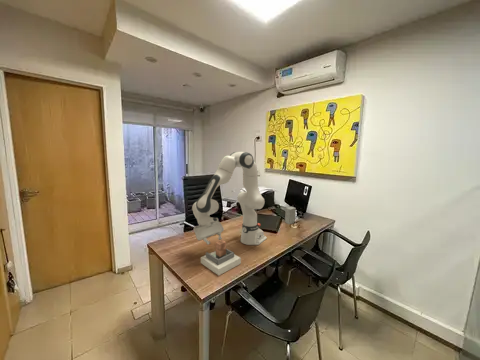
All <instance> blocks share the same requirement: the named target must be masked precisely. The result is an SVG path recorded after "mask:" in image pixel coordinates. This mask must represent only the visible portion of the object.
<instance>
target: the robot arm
mask: <svg viewBox="0 0 480 360" xmlns="http://www.w3.org/2000/svg"><path fill="white" fill-rule="evenodd" d="M237 167H238V168H241V169H242V185H243V186H242V187H243V188H244V189H245V191H241V192H239V193H238V194H237V198H236V199H237V201H238V203H239V205H240V208H241V212H242V226H241V227H242V228H241V236H240V243H242V244H244V245H247V246H260V245H261V244H262V243H263V242H265V241H266V240H267V238H268V237H267V236H265V234H264V231H263V230H262V229H261V228H259V227H261V223H259V222H258V214H257V212H256V210H261V209H263V207H264V206H265V202H266V201H265V198H264V197H263V196H262V194H261V192H260V189H259V182H258V181H259V180H258V165H257V163H256V162H255V160H254V156H253V155H252V153H250V152H247V151H234V152H232V153H231V154H229V155H225V156H224V157H223V158H222V159H221V161H220V163H219V164H218V167H217V170H215V173H214V174H213V175H212V177H211V178H210V179H209V181H208V183H207V185H206V187H205V188H204V190H203V192H202V194H201V195H200V197H198V199H197V200H196V201H195V202H194V203H193V204H192V207H191V210H192V213H193V215H194V217H195V219H196V221H197V224H198V225H197V226H194V227H193V232H194V234H195V237H196V240H197V241H202V240H203V242H205V244H206V245H208V246H209V245H211V241H210V240H209V239H208V238H211V237H213V236H216V235H217V236H218V237H217V239H218V241H221V240H222V239H223V237H222V233H223V232H224V230H225V229H224V226H223V225H222V223H221V222H220V221H219V218H218V217H211V216H210V215H213V214H215V213H217V212H218V210H219V208H220V205H219V202H218V200H216V199H213V198H212V197H213V196H214V194H215V192H216V190H217V188H218V187H220V186H222V185H225V184H228V183H229V182H230V180H231V179H232V176H233V173H234V171H235V169H236V168H237Z"/></svg>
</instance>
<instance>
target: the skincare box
mask: <svg viewBox="0 0 480 360" xmlns="http://www.w3.org/2000/svg"><path fill="white" fill-rule="evenodd" d="M296 211H297V208H296V207H294V206H287V207H285V210H284V212H285V213H284V214H285V216H284V223H286V224H287V225H290V224H292V225H293V224H295V223H294V222H296Z"/></svg>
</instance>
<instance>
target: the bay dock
mask: <svg viewBox="0 0 480 360" xmlns="http://www.w3.org/2000/svg"><path fill="white" fill-rule="evenodd" d="M241 261H242V258H241V256H238V255H236V254H235V252H234V251H232V250H230V249H228V248H226V256H224V257H222V258H220V259H218V258H216V250H214V251H213V252H208V251H206V252H205V255H203V256H201V257H200V264H201V265H203V266H204V267H206V268H207V269H209V270H210V271H211V272H213V273H214V274H216V275H217V276H220V275H223V274H224V273H227V272H229V271H230V270H232V269H234V268H236V267H237V266H240V265H241V263H242V262H241Z"/></svg>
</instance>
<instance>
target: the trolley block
mask: <svg viewBox="0 0 480 360" xmlns="http://www.w3.org/2000/svg"><path fill="white" fill-rule="evenodd" d="M226 249H227V242H226V241H224V240H222V239H221V240H218V241H216V242H215V251H216V258H218V259H220V258H222V257H224V256H226Z"/></svg>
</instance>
